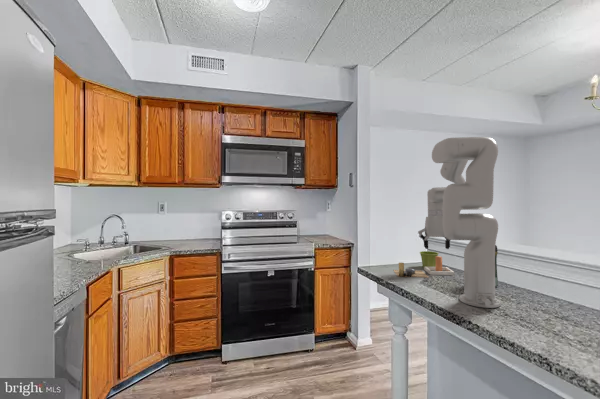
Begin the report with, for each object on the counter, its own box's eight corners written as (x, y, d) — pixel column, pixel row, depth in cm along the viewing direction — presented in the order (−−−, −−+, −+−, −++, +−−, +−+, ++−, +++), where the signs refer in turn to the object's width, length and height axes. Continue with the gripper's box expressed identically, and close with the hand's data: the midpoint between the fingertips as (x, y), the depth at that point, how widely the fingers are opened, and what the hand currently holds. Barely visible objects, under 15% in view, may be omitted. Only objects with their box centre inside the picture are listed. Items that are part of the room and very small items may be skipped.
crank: (408, 271, 150) (408, 259, 150) (416, 272, 146) (416, 260, 146) (395, 275, 142) (395, 262, 142) (404, 276, 139) (404, 264, 139)
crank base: (429, 279, 139) (429, 273, 139) (397, 278, 141) (397, 272, 141) (421, 272, 153) (421, 266, 153) (393, 271, 155) (392, 265, 155)
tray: (454, 277, 143) (454, 272, 143) (430, 276, 144) (430, 271, 144) (446, 271, 154) (446, 267, 154) (424, 271, 155) (424, 266, 155)
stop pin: (443, 273, 147) (442, 257, 147) (436, 273, 148) (436, 257, 148) (441, 272, 150) (441, 256, 150) (434, 272, 151) (434, 256, 151)
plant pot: (442, 269, 159) (442, 253, 159) (431, 271, 154) (431, 254, 154) (427, 266, 167) (427, 250, 167) (415, 268, 162) (415, 252, 162)
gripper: (451, 213, 152) (452, 248, 152) (416, 214, 155) (416, 247, 154) (457, 213, 145) (458, 249, 144) (419, 213, 148) (420, 249, 147)
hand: (436, 248), depth 149 cm, fingers open, 9 cm apart
